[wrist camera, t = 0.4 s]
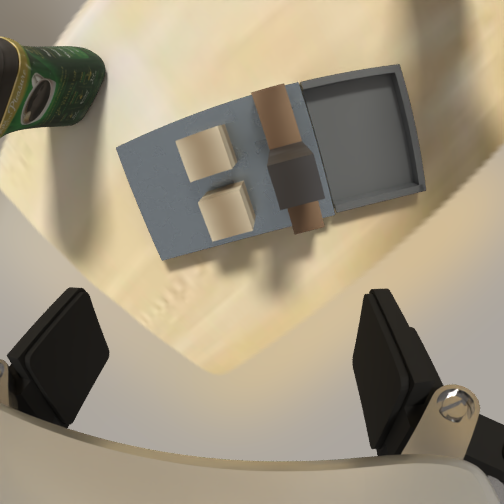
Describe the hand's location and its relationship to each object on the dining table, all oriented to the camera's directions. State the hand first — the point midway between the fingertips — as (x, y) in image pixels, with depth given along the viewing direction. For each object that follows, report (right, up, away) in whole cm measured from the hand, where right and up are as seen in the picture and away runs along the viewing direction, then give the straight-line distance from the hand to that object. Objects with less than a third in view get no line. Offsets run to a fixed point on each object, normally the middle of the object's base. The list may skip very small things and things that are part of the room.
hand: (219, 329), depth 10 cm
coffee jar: (-20, +23, +20) cm, 36 cm away
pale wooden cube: (-1, +7, +22) cm, 23 cm away
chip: (-3, +13, +20) cm, 24 cm away
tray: (+13, +15, +20) cm, 28 cm away
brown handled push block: (+5, +12, +20) cm, 23 cm away
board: (-2, +11, +23) cm, 26 cm away
